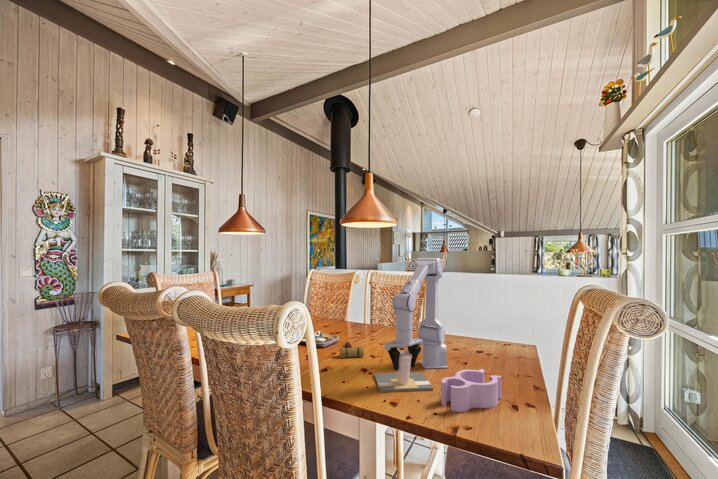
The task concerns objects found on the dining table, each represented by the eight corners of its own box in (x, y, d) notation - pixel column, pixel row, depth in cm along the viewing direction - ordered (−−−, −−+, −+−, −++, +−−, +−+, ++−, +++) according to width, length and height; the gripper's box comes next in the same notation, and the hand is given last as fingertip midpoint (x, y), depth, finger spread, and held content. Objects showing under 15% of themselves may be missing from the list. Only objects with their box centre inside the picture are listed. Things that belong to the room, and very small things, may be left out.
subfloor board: (421, 374, 120) (421, 371, 120) (433, 390, 106) (433, 387, 106) (374, 375, 118) (374, 373, 118) (380, 392, 104) (380, 389, 104)
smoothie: (411, 387, 106) (411, 345, 106) (392, 385, 107) (392, 343, 108) (413, 380, 112) (413, 339, 113) (395, 378, 114) (395, 338, 114)
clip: (463, 417, 89) (462, 392, 89) (432, 399, 100) (432, 377, 100) (509, 401, 98) (508, 379, 99) (476, 387, 109) (476, 366, 110)
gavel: (336, 339, 158) (356, 338, 159) (336, 348, 157) (356, 347, 159) (340, 348, 137) (363, 347, 139) (340, 359, 137) (363, 358, 138)
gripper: (414, 324, 117) (414, 361, 116) (380, 328, 111) (380, 367, 110) (426, 328, 110) (426, 368, 110) (390, 332, 104) (390, 374, 104)
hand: (404, 368), depth 109 cm, fingers closed on smoothie, 6 cm apart
